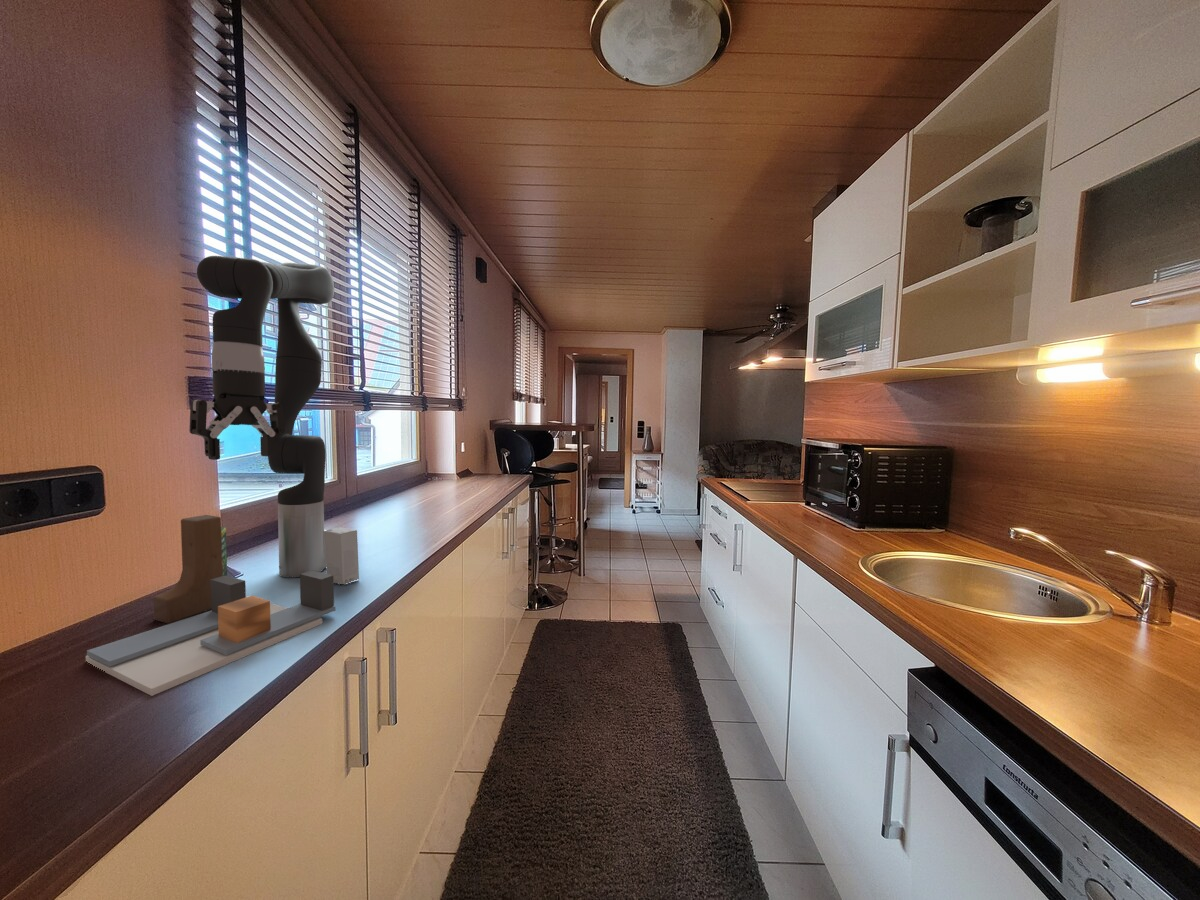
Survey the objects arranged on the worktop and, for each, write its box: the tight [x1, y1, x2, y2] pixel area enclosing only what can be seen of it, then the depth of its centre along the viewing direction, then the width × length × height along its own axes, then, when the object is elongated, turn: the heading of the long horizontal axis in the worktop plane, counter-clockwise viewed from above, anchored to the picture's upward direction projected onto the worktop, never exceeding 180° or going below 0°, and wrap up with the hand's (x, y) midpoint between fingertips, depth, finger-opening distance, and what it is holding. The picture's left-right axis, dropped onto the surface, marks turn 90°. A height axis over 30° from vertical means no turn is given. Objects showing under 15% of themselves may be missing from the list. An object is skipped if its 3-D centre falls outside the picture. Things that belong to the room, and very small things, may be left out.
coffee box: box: [221, 526, 228, 576], centre depth 95 cm, size 8×3×13 cm, turn 28°
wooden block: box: [152, 514, 223, 625], centre depth 85 cm, size 9×4×18 cm, turn 160°
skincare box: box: [325, 526, 360, 585], centre depth 103 cm, size 6×4×12 cm
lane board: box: [85, 602, 323, 697], centre depth 75 cm, size 24×19×1 cm
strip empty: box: [86, 575, 247, 667], centre depth 74 cm, size 18×7×7 cm, turn 157°
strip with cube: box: [200, 570, 337, 655], centre depth 78 cm, size 18×7×7 cm, turn 157°
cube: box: [218, 595, 271, 643], centre depth 74 cm, size 5×5×5 cm
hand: (241, 457), depth 83 cm, fingers open, 8 cm apart
